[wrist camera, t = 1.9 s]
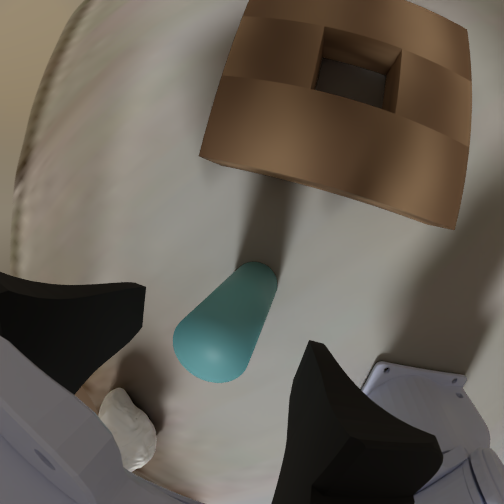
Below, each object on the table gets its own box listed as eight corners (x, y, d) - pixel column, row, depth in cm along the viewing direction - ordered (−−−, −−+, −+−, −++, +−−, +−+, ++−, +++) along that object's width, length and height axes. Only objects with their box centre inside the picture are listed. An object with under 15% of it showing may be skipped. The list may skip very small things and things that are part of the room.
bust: (146, 438, 27) (171, 513, 18) (88, 436, 23) (100, 515, 14) (152, 373, 25) (181, 468, 15) (78, 367, 21) (78, 468, 11)
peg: (282, 269, 18) (258, 328, 9) (270, 310, 19) (239, 392, 10) (238, 256, 18) (178, 302, 10) (228, 297, 19) (169, 366, 10)
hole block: (446, 52, 13) (466, 29, 9) (426, 224, 16) (454, 230, 12) (269, 3, 15) (261, -28, 11) (221, 165, 18) (198, 156, 14)
